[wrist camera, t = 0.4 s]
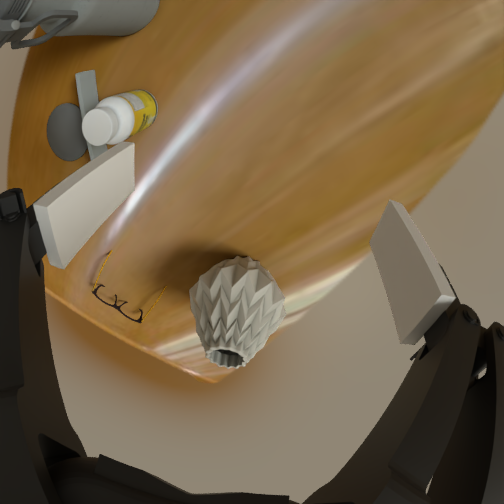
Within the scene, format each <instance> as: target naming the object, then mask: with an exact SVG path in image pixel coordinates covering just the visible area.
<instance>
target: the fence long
mask: <svg viewBox="0 0 504 504" xmlns="http://www.w3.org/2000/svg"><path fill="white" fill-rule="evenodd" d="M75 75H76V83H77V91H78V98H79V104H80V110H81V116H82V121H83V119H84V117H85V115H86V114H87V113H88V112H89V111H90V110H92V109H94V108H95V107H96V105H97V104H98V103H99V100H98V93H97V86H96V78H95V70H90V71H85V72H79V73H77V74H75ZM86 141H87V140H86ZM87 146H88V150H89V154H90V159H91V161H92V160H93V159H95V158H96V157H98V156H99V155H101V154H102V153H104V152H106V151H107V145H106V144H104V145H101V146H94V145H92V144H90V143H89V142H88V141H87Z"/></svg>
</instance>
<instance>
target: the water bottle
mask: <svg viewBox="0 0 504 504" xmlns="http://www.w3.org/2000/svg"><path fill="white" fill-rule="evenodd" d="M159 1H160V0H0V48H1V46H2V45H3V44H4V43H6V42H11V48H12V49H19V48H24V47H30V46H36V45H39V44H42V43H44V42H46V41H47V40H49V39H50V38H52V37H53V36H73V35H110V36H126V35H130V34H133V33H135V32H137V31H139V30H141V29H142V28H144V27H145V26H146V25H147V24H148V23H149V22H150V21H151V20H152V18H153V17H154V15H155V14H156V12H157V9H158V7H159ZM39 24H40V26H41V28H42V29H43V30H44V31H45V32H46V33H47V34H46V35H44V36H42V37H39V38H36V39H29V40H23V41H21V40H22V39H23V38H24V37H25V36H26V35H27V34H28V33H29V32H31V31H32V30H33V29H34V28H35V27H36V26H38V25H39Z"/></svg>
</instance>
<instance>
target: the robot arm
mask: <svg viewBox="0 0 504 504" xmlns="http://www.w3.org/2000/svg"><path fill="white" fill-rule="evenodd" d="M133 191H134V143H132V142H120V143H119V144H117V145H115V146H114V147H112V148H110V149H109V150H107V151H106V152H104V153H102V154H101V155H99V156H98V157H96V158H95V159H93V160H92V161H90V162H89V163H87V164H86V165H84V166H83V167H81V168H80V169H78V170H77V171H75V172H74V173H73V174H71V175H70V176H68V177H67V178H66V179H64V180H63V181H62V182H60V183H58V184H57V185H55V186H54V187H53V188H52V189H51V190H49V191H48V192H46V193H45V195H43V196H41V197H40V198H39V199H38V200H37V201H35V202H34V203H33V204H32V205H31V206H29V207H28V208H26V204H25V200H24V196H23V191H22V189H20V188H13V189H9V190H7V191H5V192H3V193H1V194H0V504H299V503H296V502H294V501H291V500H289V496H285V495H283V496H282V495H265V494H253V493H243V492H241V493H240V492H239V493H237V492H235V493H232V492H231V493H210V494H192V493H188V492H186V491H184V490H182V489H180V488H178V487H176V486H174V485H172V484H170V483H168V482H166V481H164V480H162V479H161V478H159V477H157V476H154V475H152V474H150V473H148V472H145V471H143V470H140V469H137V468H135V467H132V466H129V465H126V464H124V463H121V462H118V461H116V460H113V459H111V458H109V457H106V456H104V455H102V454H100V455H99V458H96V457H87V455H86V452H85V450H84V447H83V445H82V443H81V441H80V439H79V437H78V435H77V434H76V432H75V431H74V429H73V428H72V426H71V424H70V422H69V419H68V417H67V413H66V410H65V407H64V403H63V399H62V396H61V392H60V388H59V384H58V380H57V375H56V370H55V366H54V360H53V355H52V349H51V343H50V337H49V329H48V321H47V312H46V301H45V285H44V265H43V262H42V258H43V256H44V255H45V254H46V253H47V256H48V259H49V262H50V265H53V266H55V267H58V268H61V269H65V267H66V266H67V265H68V263H69V262H70V261H71V260H72V258H73V257H74V256H75V255H76V254H77V252H78V251H79V250H80V249H81V248H82V246H83V245H84V244H85V243H86V242H87V240H88V239H89V238H90V237H91V236H92V235H93V234H94V232H95V231H96V230H97V229H98V228H99V227H100V226H101V225H102V224H103V222H104V221H105V220H106V219H107V218H108V217H109V216H110V215H111V214H112V213H113V212H114V211H115V210H116V209H117V207H118V206H119V205H120V204H121V203H122V202H123V201H124V200H125V199H126V198H127V197H128V196H129V195H130V194H131V193H132V192H133ZM369 243H370V246H371V248H372V251H373V254H374V257H375V260H376V262H377V265H378V268H379V271H380V274H381V277H382V280H383V283H384V287H385V290H386V293H387V297H388V300H389V303H390V306H391V310H392V314H393V317H394V321H395V325H396V329H397V332H398V336H399V340H400V344H412V345H415V344H416V343H417V342H418V341H419V340H420V339H421V338H422V337H423V335H424V338H425V341H426V343H425V344H424V345H423V346H422V348H420V349H419V350H418V351H417V352H416V353H415V354H414V355H413V356H412V357H411V358H410V360H413V359H414V358H415V360H414V362H413V364H412V366H411V368H410V370H409V372H408V373H407V375H406V377H405V379H404V381H403V383H402V384H401V386H400V388H399V389H398V391H397V393H396V394H395V396H394V398H393V399H392V401H391V402H390V404H389V406H388V407H387V409H386V410H385V412H384V413H383V415H382V417H381V418H380V420H379V421H378V422H377V424H376V425H375V427H374V428H373V430H372V431H371V432H370V434H369V435H368V436H367V438H366V439H365V441H364V442H363V444H362V445H361V446H360V447H359V448H358V450H357V451H356V452H355V454H354V455H353V456H352V457H351V459H350V460H349V461H348V462H347V463H346V465H345V466H344V467H343V468H342V469H341V470H340V472H339V473H338V474H337V475H336V476H335V477H334V478H333V479H332V480H331V481H330V482H329V483H327V484H325V485H324V486H322V487H321V488H319V489H318V490H317V491H316V492H314V493H313V494H312V495H311V496H310V497H308V498H307V499H306V500H305V502H303V503H302V504H504V326H502V325H501V324H500V323H498V322H494V323H493V324H492V325H491V326H490V327H489V328H488V329H486V328H484V327H482V326H481V324H480V320H479V318H478V316H477V314H476V313H475V312H474V311H473V310H472V308H470V307H469V306H467V305H465V304H460V302H459V299H458V297H457V295H456V293H455V291H454V289H453V287H452V285H451V284H450V281H449V279H448V278H447V277H446V276H447V275H446V274H445V272H444V270H443V268H442V267H441V265H440V264H439V263H438V262H437V260H436V258H435V257H434V255H433V253H432V251H431V249H430V248H429V246H428V244H427V243H426V241H425V239H424V238H423V236H422V234H421V233H420V231H419V229H418V228H417V226H416V225H415V223H414V222H413V220H412V218H411V217H410V215H409V214H408V212H407V211H406V209H405V208H404V206H403V205H402V204H401V203H398V202H396V201H393V200H389V202H388V204H387V206H386V208H385V211H384V213H383V215H382V217H381V219H380V221H379V223H378V225H377V227H376V230H375V232H374V234H373V236H372V238H371V240H370V242H369ZM486 367H487V369H486V373H485V375H484V376H483V377H481V378H480V379H478V374H479V373H480V372H481V371H482V370H484V369H485V368H486ZM432 476H433V478H432ZM431 478H432V481H431V484H430V487H429V490H428V493H427V494H426V488H427V485H428V484H429V482H430V480H431Z"/></svg>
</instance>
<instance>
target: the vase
mask: <svg viewBox="0 0 504 504" xmlns="http://www.w3.org/2000/svg"><path fill="white" fill-rule="evenodd" d="M189 294H190V302H191V306H190V307H191V311H192V313H193V315H194V317H195V320H196V332H197V334H198V335H199V337H200V340H201V342H202V346H203V347H204V350H205V353H206V354H205V357H206V358H208V359H210V362H211V363H216V364H217V365H218V367H221V366H224V367H226V368H227V369H229V368H232V367H233V368H236V369H238V368H239V367H240V366H243V367H245V366H246V363H248V362H249V360H250V359H251V358H253V357H254V355H255V354H256V352H258V351H259V350H260V349H262V348H263V347H264V345H265V343H266V341H267V339H268V337H269V336H270V335H271V334H272V333H274V332H275V331H276V330H277V328H278V326H279V325H280V323H281V322H282V320H283V319H284V317H285V316H286V311H285V308H284V300H285V296H284V295H283V293H282V292H281V290H280V289H279V287H278V285H277V283H276V281H275V280H274V278H273V277H272V275H271V274H270V273H269V271H268V270H266V269H265V268H263V267H262V266H261V265H260V262H259V261H253V260H252V259H251V258H250V257H249V256H248V257H245V258H241V257H239V256H236V257H235V258H234V259H227V260H224V261H222V262H220V263H218V264H216V265H214V266H213V267H212V268H211V269H210V270H208V271H207V272H206V273H205V274H203V275H201V276H200V277H199V281H198V282H197V283H196V284H195V285H194V286H193V287H192V288H191V289H190V290H189Z"/></svg>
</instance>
